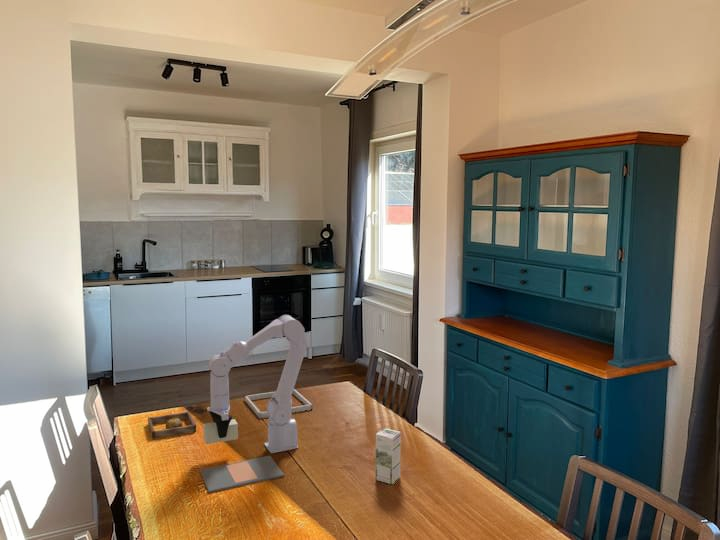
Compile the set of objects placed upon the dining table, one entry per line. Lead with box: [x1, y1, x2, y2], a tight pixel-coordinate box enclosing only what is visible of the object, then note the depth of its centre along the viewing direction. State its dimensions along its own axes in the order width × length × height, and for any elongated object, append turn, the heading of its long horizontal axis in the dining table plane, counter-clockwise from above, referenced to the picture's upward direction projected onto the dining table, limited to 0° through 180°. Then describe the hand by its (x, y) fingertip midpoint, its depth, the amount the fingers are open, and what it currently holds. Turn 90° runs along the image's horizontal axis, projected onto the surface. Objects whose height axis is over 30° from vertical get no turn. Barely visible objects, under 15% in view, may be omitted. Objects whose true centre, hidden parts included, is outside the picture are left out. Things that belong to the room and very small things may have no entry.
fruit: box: [165, 418, 184, 429], centre depth 196 cm, size 8×8×4 cm
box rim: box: [244, 388, 314, 419], centre depth 221 cm, size 22×22×2 cm
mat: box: [199, 455, 285, 494], centre depth 164 cm, size 22×14×1 cm, turn 117°
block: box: [202, 418, 239, 445], centre depth 174 cm, size 10×4×5 cm, turn 116°
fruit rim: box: [147, 411, 197, 440], centre depth 197 cm, size 15×15×2 cm
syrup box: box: [374, 427, 402, 485], centre depth 160 cm, size 6×6×14 cm
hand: (220, 434), depth 174 cm, fingers closed on block, 4 cm apart
